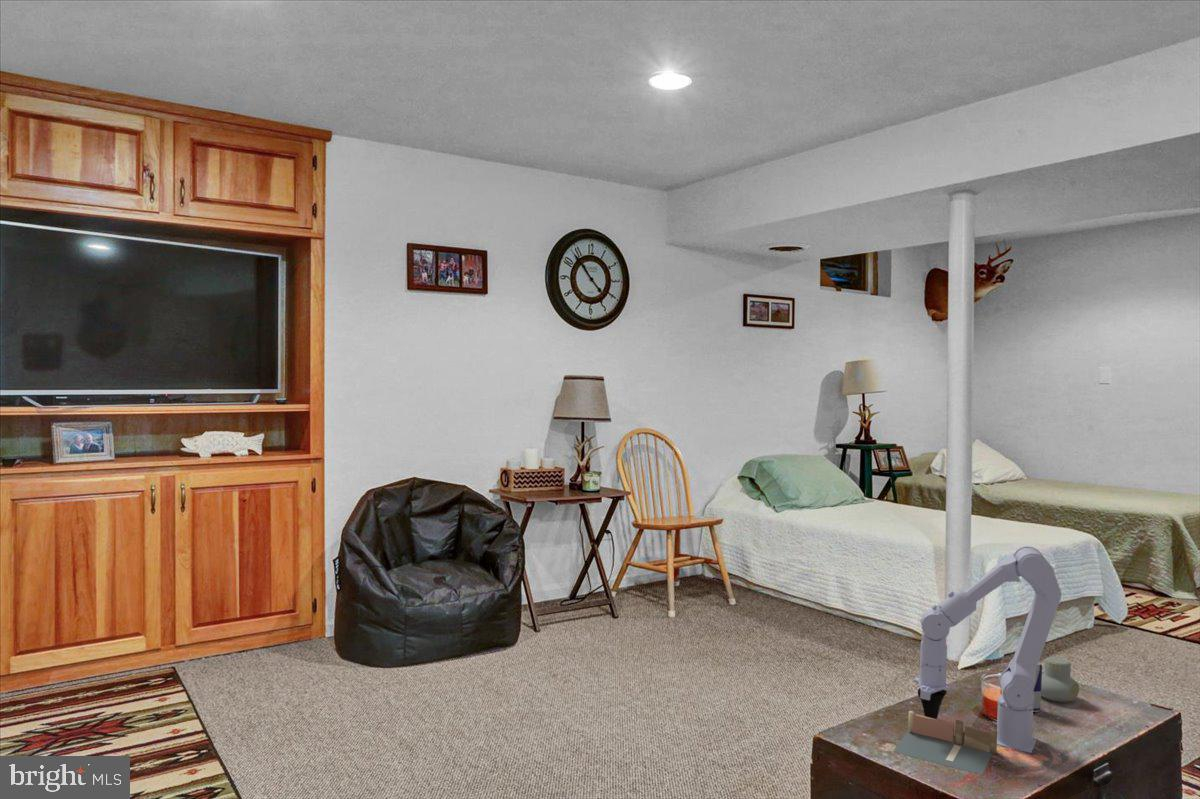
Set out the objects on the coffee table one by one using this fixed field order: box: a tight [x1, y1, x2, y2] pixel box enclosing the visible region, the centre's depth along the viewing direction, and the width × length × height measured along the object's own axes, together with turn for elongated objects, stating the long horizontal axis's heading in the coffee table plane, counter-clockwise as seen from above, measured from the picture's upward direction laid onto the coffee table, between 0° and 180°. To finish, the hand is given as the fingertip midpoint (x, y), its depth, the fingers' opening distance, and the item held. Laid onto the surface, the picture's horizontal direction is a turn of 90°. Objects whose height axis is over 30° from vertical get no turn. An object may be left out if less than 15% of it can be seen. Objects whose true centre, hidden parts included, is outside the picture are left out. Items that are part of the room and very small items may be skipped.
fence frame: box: [954, 719, 998, 755], centre depth 186 cm, size 2×8×5 cm, turn 57°
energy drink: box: [1033, 661, 1043, 712], centre depth 211 cm, size 5×5×12 cm
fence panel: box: [907, 710, 955, 742], centre depth 192 cm, size 10×1×4 cm, turn 56°
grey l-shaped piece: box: [1041, 656, 1080, 703], centre depth 219 cm, size 11×8×10 cm
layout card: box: [892, 730, 993, 776], centre depth 185 cm, size 15×18×1 cm
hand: (930, 721), depth 196 cm, fingers closed
